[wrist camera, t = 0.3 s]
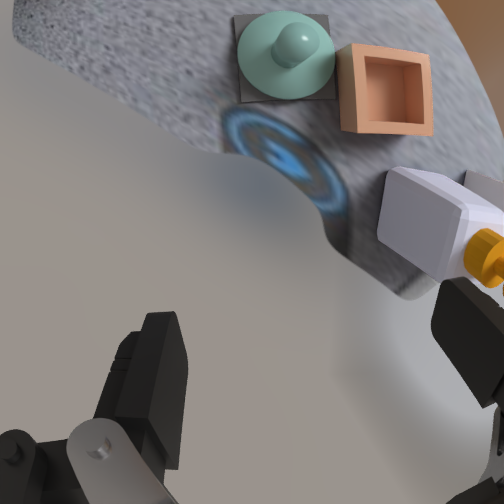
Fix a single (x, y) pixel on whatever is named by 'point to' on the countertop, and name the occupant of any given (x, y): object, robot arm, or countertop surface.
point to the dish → (384, 90)
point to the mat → (255, 95)
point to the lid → (286, 55)
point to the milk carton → (485, 188)
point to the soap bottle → (442, 227)
